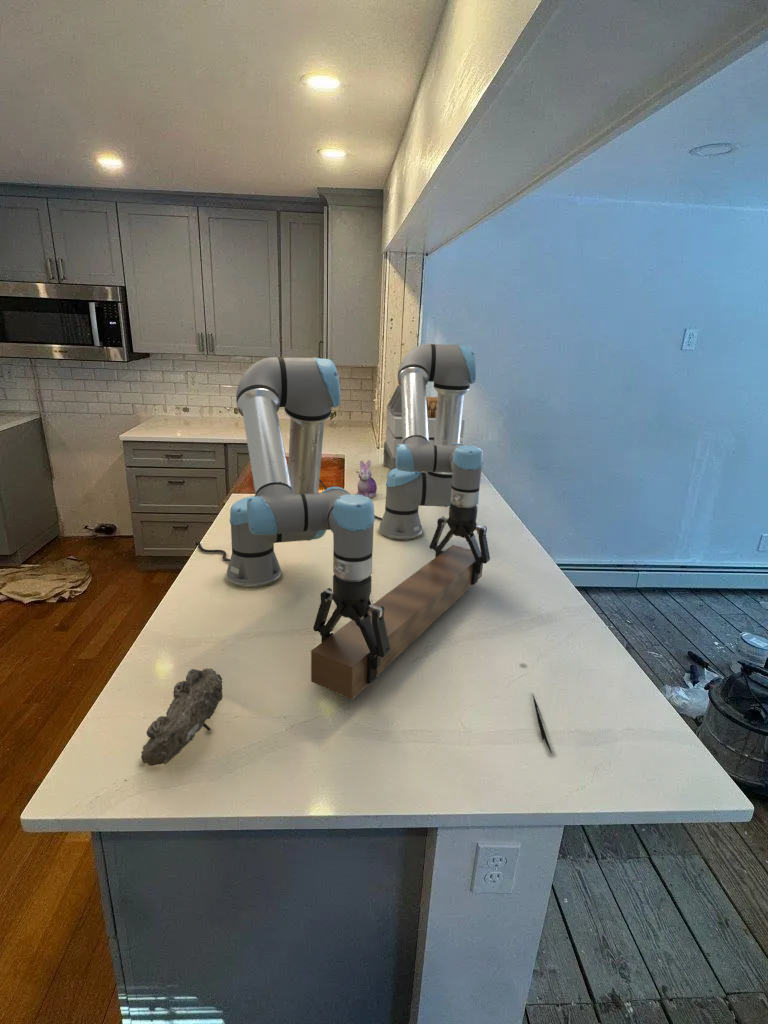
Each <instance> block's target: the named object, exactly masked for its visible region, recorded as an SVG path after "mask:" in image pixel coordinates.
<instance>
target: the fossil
mask: <svg viewBox="0 0 768 1024" xmlns="http://www.w3.org/2000/svg"><path fill="white" fill-rule="evenodd" d="M172 696H173V700H172V701H171V703H170V704H169V707H168V708H167V710H166V712H165V713H166V714H165V715H166V716H163V715H160V716H158V717H157V718H156V720H153V721H152V722H151V724H150V725H149V726H148V728H147V730H146V736H147V737H148V738H149V739H148V740H147V742H146V743H145V744H144V745H143V746H142V750H141V752H140V753H141V756H140V759H141V762H142V763H143V764H146V765H148V766H149V767H155V766H160V765H167V764H168V763H169V762H170V761H172V759H174V757H176V755H178V754H180V752H181V751H182V750H183V749H184V748H185V747H186V746H187V745H189V744H190V742H192V741H193V739H194V738H195V736H196V734H197V733H198V732H199V731H200V730H201V729H202V728H204V729H206V730H207V731H208V732H209V731H211V728H210V726H208V724H206V721H207V720H210V719H211V718H212V716H213V715H214V714H215V711H216V709H217V707H218V705H219V703H220V702H221V701H222V699H223V698H224V697H223V696H224V695H223V677H222V676H221V674H219V673H217V671H216V670H215V669H213V668H207V667H206V668H203V669H202V670H200V669H196V668H191V669H190V670H189V671H188V673H187V675H186V677H185V680H181V681H178V682H177V683H176V684H175V685H174V687H173V695H172Z"/></svg>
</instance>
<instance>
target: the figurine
mask: <svg viewBox="0 0 768 1024" xmlns="http://www.w3.org/2000/svg"><path fill="white" fill-rule="evenodd" d="M371 463H372V461H371V460H370V459H368V460H367V461H366V463H364V461H363V460H360V461H359V467H360V468H359V471H358V475H357V476H358V478H359V480H358V482H357V493H356V494H358V495H363V496H365V497H368V498H370V499H371V498H374V497H375V496H376V495H377V490H378V487H377V482H376V480H375V479H374V478H373V477H372V476H373V475H372V471H371V469H370V467H371Z"/></svg>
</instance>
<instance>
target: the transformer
mask: <svg viewBox="0 0 768 1024" xmlns="http://www.w3.org/2000/svg"><path fill="white" fill-rule="evenodd" d="M437 397H438V396H426V400H427V418H428V437H429V445H434V436H435V423H436V410H437ZM385 414H386V415H385V423H386V428H385V438H384V442H383V466H384V467H388V468H389V471H391V470H392V469H395V468H396V447H397V445H398V444H402V398H401V386H400V385H399V384H398V385H397V386H396V388H395V390H394V392H393V394H392V395H391V398H390V400H389V402H388V404H387V405H386V413H385ZM464 429H465V419H464V418H462V422H461V433H460V443H461V444H464V443H463V442H464V441H463V440H462V439H463V438H464V431H465V430H464Z"/></svg>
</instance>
